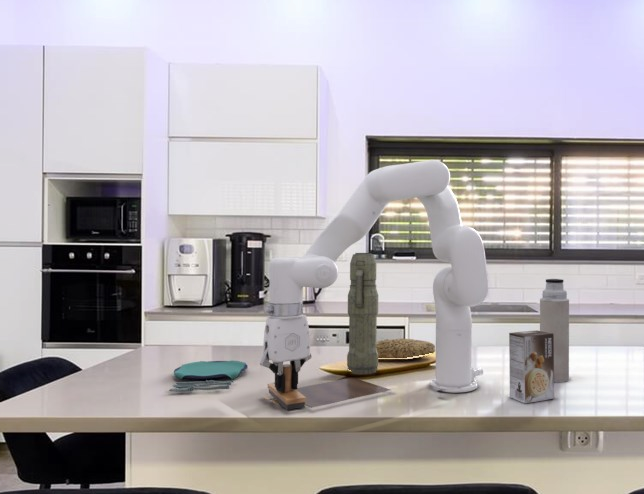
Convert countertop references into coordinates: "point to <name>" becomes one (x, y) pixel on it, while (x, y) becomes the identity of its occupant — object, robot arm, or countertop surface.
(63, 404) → the countertop surface
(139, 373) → the countertop surface
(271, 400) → the crumb
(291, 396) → the wooden knob plate
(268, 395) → the crumb
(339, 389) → the tray
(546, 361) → the brown white upright box
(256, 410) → the countertop surface
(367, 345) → the olive green flask
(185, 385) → the cutlery set
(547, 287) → the thermos bottle
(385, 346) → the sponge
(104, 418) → the countertop surface
